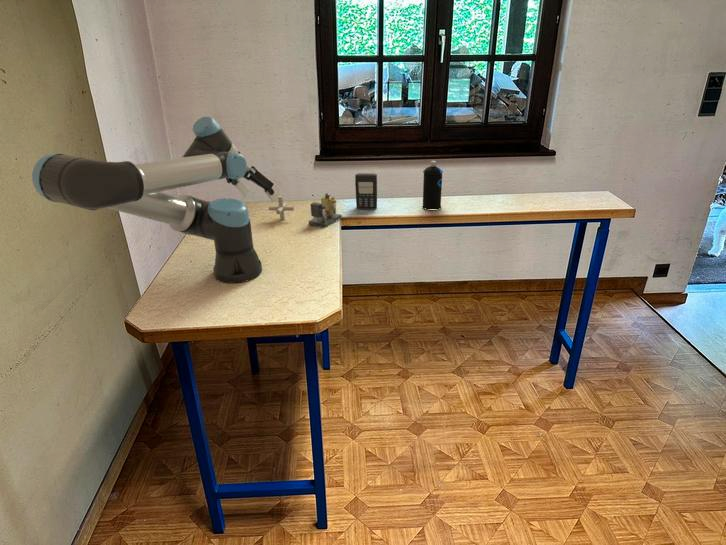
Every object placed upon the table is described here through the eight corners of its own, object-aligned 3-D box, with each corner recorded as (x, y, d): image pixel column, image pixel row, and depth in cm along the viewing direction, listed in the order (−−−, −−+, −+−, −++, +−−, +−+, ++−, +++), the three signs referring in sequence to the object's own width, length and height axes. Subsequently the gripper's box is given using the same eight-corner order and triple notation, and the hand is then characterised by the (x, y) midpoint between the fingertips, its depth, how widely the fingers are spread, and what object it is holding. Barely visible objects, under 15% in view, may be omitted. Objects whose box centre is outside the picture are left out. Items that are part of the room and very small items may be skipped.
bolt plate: (325, 227, 187) (323, 207, 183) (308, 224, 191) (307, 204, 187) (341, 218, 196) (340, 198, 193) (325, 215, 200) (324, 195, 196)
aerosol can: (422, 210, 202) (424, 163, 193) (421, 204, 209) (422, 159, 200) (442, 210, 202) (444, 163, 193) (440, 204, 209) (442, 158, 200)
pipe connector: (297, 215, 200) (295, 192, 196) (291, 224, 192) (289, 200, 187) (274, 215, 201) (271, 192, 197) (267, 224, 192) (264, 200, 188)
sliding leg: (333, 215, 193) (332, 196, 189) (322, 213, 196) (320, 194, 192) (338, 213, 196) (337, 194, 192) (327, 211, 199) (325, 192, 195)
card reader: (355, 209, 206) (354, 175, 199) (356, 206, 209) (355, 172, 202) (376, 209, 205) (376, 175, 198) (377, 206, 208) (377, 172, 201)
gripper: (263, 152, 153) (292, 192, 171) (208, 145, 165) (240, 184, 182) (252, 170, 151) (282, 209, 168) (196, 162, 162) (230, 199, 179)
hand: (260, 196), depth 175 cm, fingers open, 13 cm apart
